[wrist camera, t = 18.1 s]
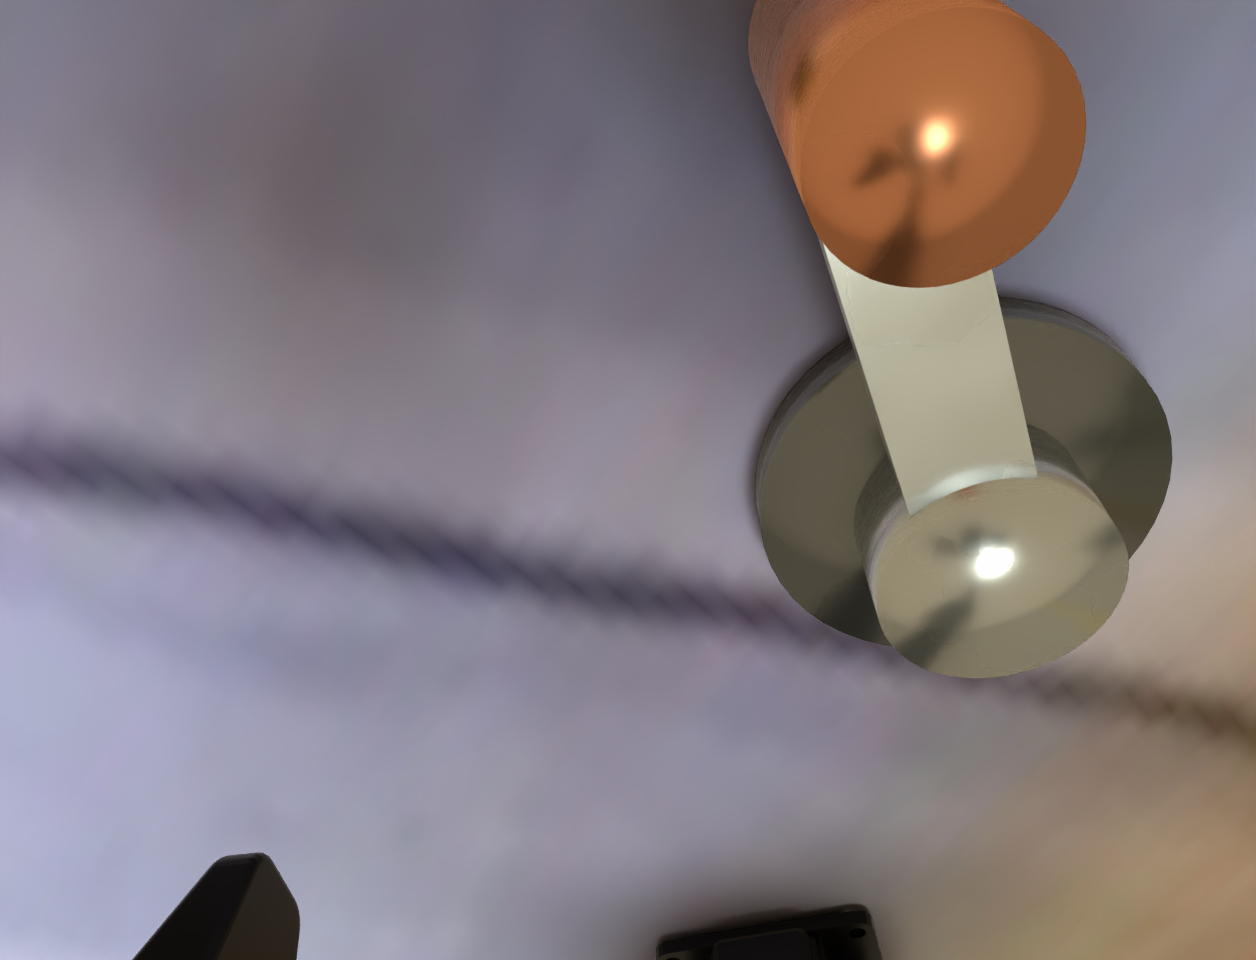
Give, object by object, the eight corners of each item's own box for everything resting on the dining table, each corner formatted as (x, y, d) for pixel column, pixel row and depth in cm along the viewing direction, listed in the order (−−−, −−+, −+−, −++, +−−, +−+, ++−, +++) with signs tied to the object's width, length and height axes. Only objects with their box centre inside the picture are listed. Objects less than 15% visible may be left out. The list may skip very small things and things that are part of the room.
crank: (1096, 559, 21) (1261, 845, 16) (884, 621, 22) (970, 910, 17) (957, -160, 14) (1175, -91, 8) (650, -24, 15) (667, 118, 9)
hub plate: (1149, 576, 23) (1167, 607, 22) (792, 647, 24) (798, 678, 24) (1153, 249, 19) (1177, 272, 18) (716, 356, 20) (721, 383, 19)
